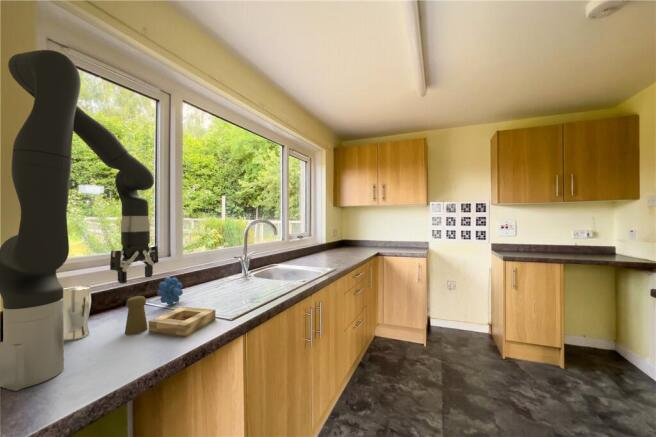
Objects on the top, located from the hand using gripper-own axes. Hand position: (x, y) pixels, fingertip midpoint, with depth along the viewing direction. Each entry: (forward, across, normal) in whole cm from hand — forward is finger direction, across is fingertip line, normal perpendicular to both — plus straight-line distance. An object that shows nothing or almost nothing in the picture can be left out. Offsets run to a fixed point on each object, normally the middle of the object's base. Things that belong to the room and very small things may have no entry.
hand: (136, 279), depth 84 cm
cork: (+17, 0, 0) cm, 17 cm away
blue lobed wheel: (+17, +23, +9) cm, 30 cm away
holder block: (+17, +7, -12) cm, 22 cm away
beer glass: (+17, -8, +14) cm, 23 cm away
